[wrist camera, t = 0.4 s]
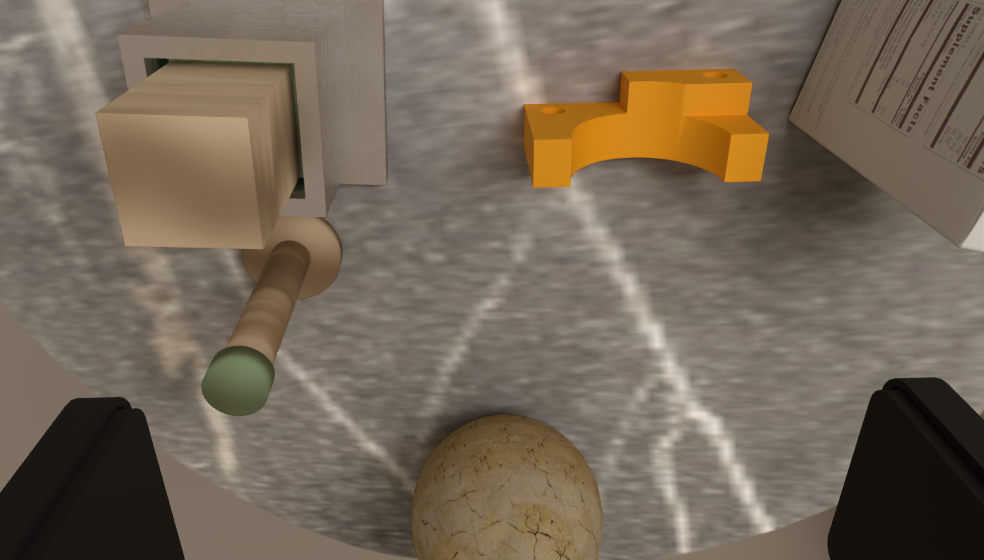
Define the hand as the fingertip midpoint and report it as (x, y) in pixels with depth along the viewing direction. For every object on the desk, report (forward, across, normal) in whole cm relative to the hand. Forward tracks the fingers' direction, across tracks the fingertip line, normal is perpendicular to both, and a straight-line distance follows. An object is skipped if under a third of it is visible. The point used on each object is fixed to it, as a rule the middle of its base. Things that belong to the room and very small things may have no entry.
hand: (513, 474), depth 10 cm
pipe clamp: (+35, -9, +4) cm, 37 cm away
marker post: (+35, +11, +13) cm, 39 cm away
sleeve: (+35, +11, +2) cm, 36 cm away
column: (+34, +11, +3) cm, 35 cm away
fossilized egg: (+36, -2, +30) cm, 47 cm away
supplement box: (+35, -24, +2) cm, 43 cm away
